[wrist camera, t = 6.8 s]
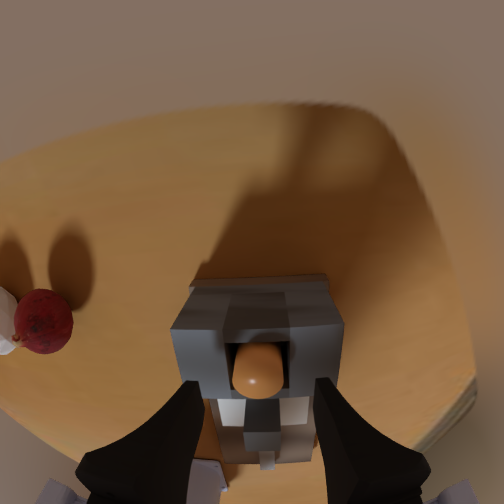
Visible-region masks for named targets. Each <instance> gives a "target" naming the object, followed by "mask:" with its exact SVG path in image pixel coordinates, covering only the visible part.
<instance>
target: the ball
mask: <svg viewBox="0 0 504 504" xmlns="http://www.w3.org/2000/svg"><path fill="white" fill-rule="evenodd" d="M17 306H18V303H17V301H16V299H15V297H14V296H13V295H11V294H10V293H9V292H7V291H6V290H5V289H4V288H2V287H1V286H0V354H1V355H7V354H8V353H9V352H11V351H12V350H13V349H14V348H16V346H14V345H13V344H12V338H11V336H12V335H14V334H15V333H16V332H15V327H14V314H15V311H16V308H17Z"/></svg>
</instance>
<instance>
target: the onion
mask: <svg viewBox="0 0 504 504" xmlns="http://www.w3.org/2000/svg"><path fill="white" fill-rule="evenodd" d="M14 327H15V332H16V333H15V334H14V335H12V336H11V338H12V344H13V345H14V346H16V347H17V348H19V347H26V348H28V349H29V350H31V351H33V352H36V353H39V354H50V353H54V352H56V351H58V350H60V349H61V348H63V347H64V345H65V344H66V343H67V342H68V340H69V339H70V337H71V333H72V328H73V317H72V312H71V309H70V307H69V305H68V303H67V302H66V301H65V300H64V298H63V297H62V296H60V295H59V294H57V293H55V292H53V291H51V290H47V289H35V290H32V291H31V292H29V293H28V294H26V295H25V296H24V297H23V298H22V299H21V300H20V302H19V303H18V306H17V308H16V311H15V314H14Z"/></svg>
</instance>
